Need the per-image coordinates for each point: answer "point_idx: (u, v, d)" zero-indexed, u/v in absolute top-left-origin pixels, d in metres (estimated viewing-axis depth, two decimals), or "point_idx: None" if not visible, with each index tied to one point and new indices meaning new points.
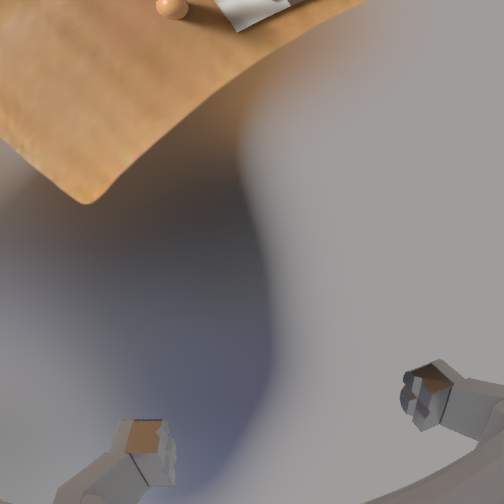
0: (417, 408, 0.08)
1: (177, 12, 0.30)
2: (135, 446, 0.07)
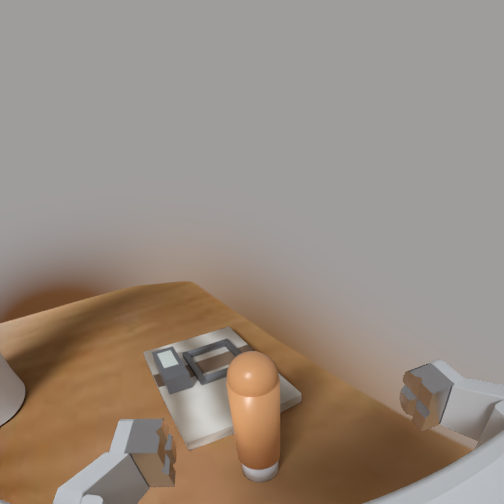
0: (417, 408, 0.08)
1: None
2: (135, 447, 0.07)
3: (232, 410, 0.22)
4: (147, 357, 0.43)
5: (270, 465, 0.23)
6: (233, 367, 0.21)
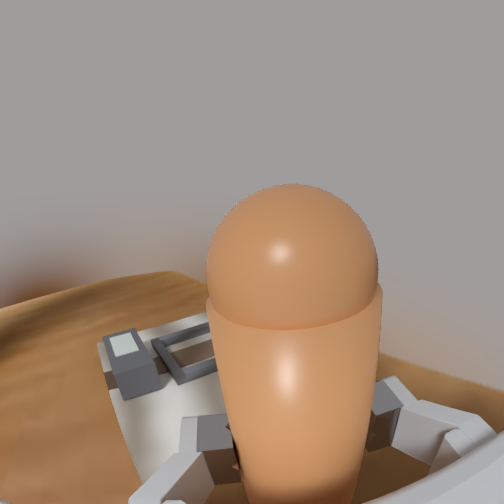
0: None
1: None
2: (207, 444, 0.07)
3: (231, 404, 0.07)
4: (100, 349, 0.27)
5: None
6: (227, 221, 0.06)
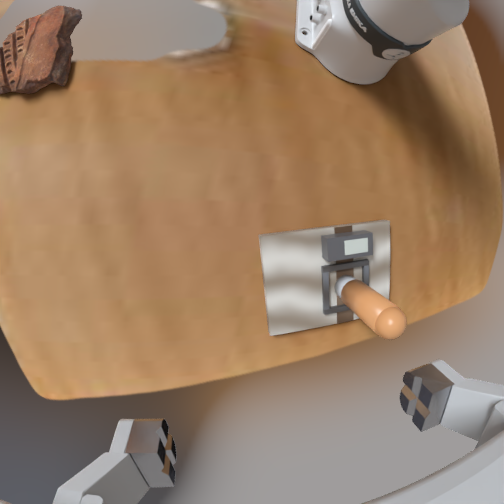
0: (417, 408, 0.08)
1: (392, 339, 0.32)
2: (135, 447, 0.07)
3: (380, 298, 0.34)
4: (380, 223, 0.44)
5: (341, 296, 0.42)
6: (398, 316, 0.30)
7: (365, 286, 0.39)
